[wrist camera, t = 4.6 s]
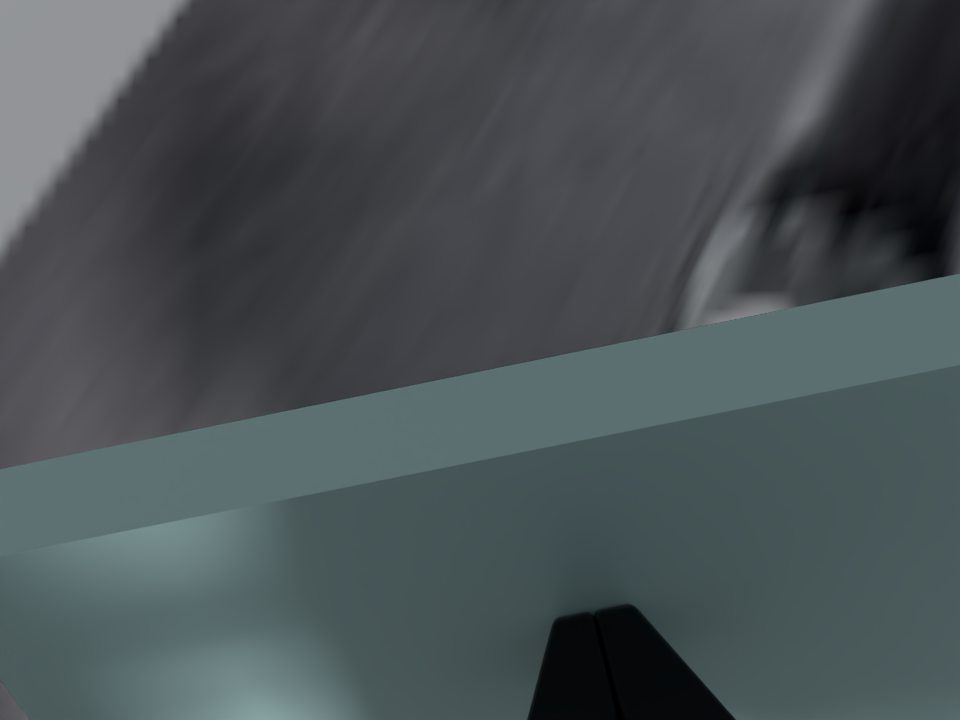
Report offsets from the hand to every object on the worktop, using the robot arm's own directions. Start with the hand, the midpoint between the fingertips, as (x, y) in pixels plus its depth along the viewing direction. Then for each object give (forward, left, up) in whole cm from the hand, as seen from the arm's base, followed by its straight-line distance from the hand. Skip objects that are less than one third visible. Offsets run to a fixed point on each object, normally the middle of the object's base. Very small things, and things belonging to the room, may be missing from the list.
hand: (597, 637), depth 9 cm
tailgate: (-4, +3, -6) cm, 8 cm away
